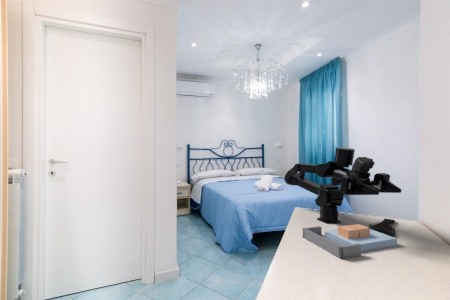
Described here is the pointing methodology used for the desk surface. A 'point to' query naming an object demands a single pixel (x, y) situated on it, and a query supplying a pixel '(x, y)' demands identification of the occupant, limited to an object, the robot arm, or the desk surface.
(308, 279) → the desk surface
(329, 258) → the desk surface
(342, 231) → the tile
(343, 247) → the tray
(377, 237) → the board
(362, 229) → the tile
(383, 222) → the black spiral-grooved part
